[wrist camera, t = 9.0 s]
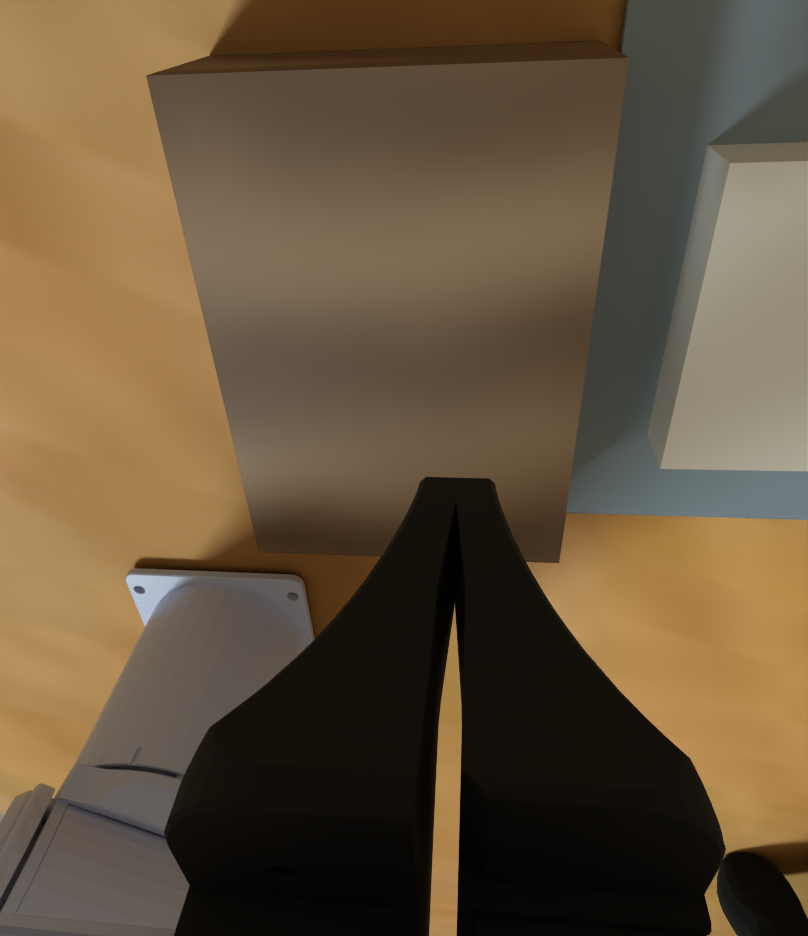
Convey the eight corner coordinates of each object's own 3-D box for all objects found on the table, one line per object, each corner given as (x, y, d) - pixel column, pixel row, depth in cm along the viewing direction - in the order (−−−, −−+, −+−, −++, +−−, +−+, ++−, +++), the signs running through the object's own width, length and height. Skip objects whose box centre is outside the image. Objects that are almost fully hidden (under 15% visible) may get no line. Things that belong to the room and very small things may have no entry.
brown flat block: (548, 486, 25) (558, 562, 21) (286, 479, 26) (259, 552, 22) (600, 40, 16) (629, 57, 13) (207, 56, 17) (146, 75, 14)
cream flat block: (659, 468, 21) (647, 433, 23) (862, 472, 20) (834, 435, 22) (730, 163, 16) (707, 145, 17) (1008, 154, 15) (957, 137, 16)
